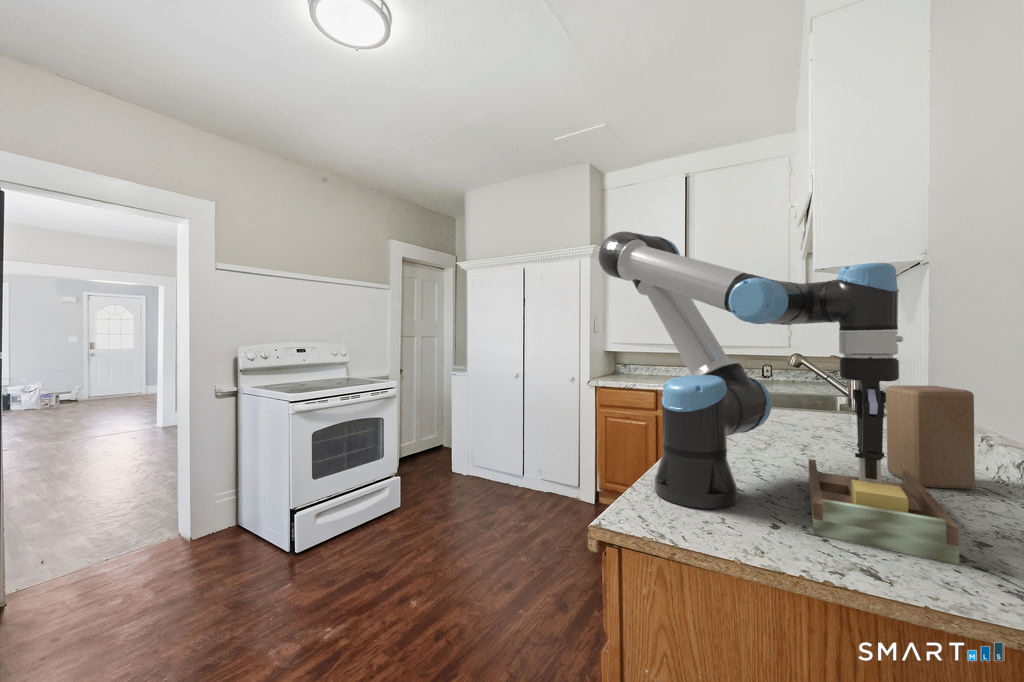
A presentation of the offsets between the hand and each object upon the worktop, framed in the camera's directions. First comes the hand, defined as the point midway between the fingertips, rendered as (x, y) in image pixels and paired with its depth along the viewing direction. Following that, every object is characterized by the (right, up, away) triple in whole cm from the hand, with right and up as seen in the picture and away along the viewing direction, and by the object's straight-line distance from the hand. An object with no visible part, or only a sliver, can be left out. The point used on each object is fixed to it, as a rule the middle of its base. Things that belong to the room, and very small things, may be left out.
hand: (870, 495), depth 69 cm
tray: (+2, -4, +3) cm, 5 cm away
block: (+28, -4, +18) cm, 34 cm away
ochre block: (-2, -2, -4) cm, 5 cm away
